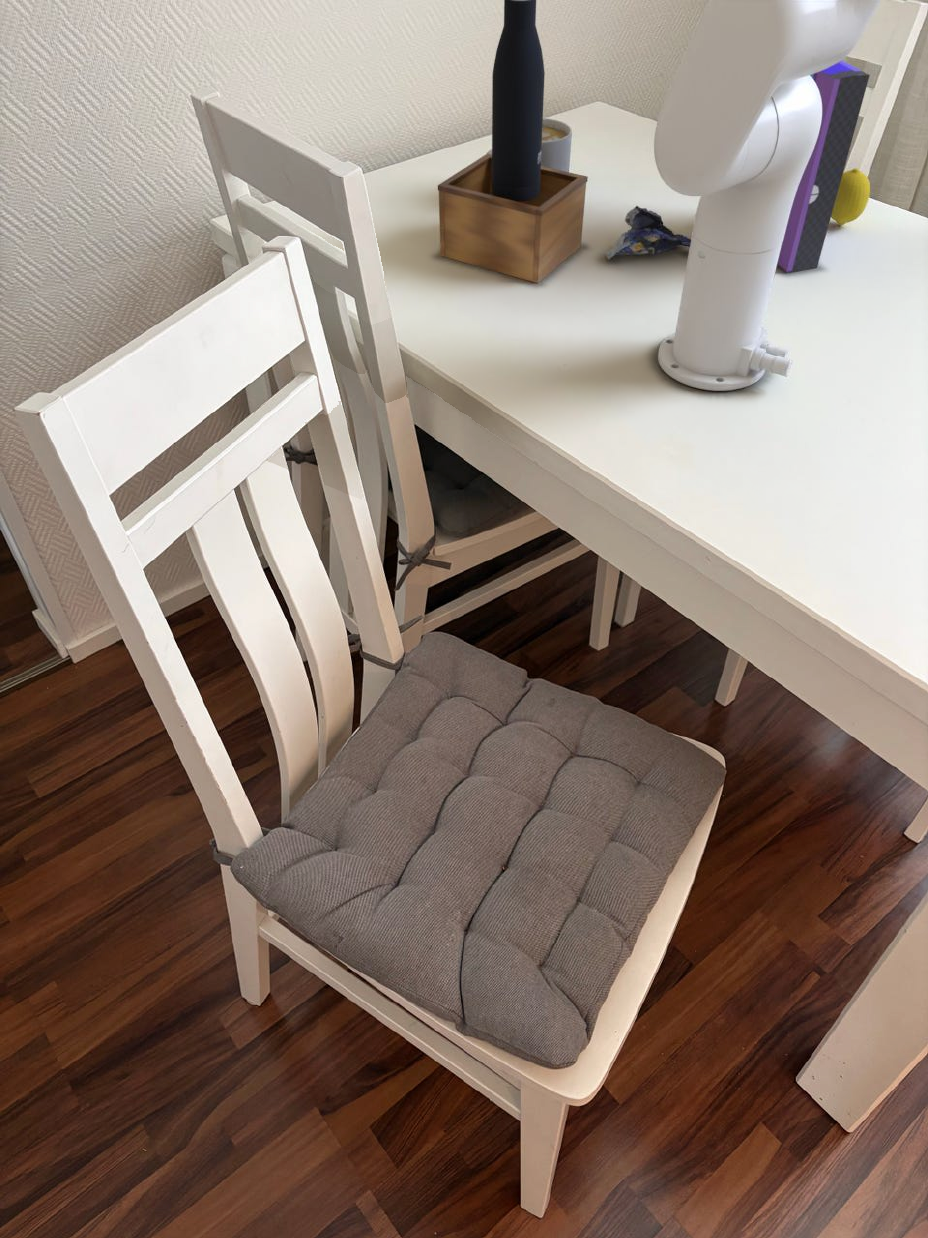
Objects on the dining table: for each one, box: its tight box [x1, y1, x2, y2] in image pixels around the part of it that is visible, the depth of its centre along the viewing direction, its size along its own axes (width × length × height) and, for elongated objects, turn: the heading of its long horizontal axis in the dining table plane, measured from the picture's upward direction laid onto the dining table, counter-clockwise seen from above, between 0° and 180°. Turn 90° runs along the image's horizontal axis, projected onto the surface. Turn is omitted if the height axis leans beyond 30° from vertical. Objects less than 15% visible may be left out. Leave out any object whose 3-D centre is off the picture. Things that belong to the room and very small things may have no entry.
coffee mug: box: [486, 117, 573, 173], centre depth 141 cm, size 13×10×10 cm
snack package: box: [604, 205, 691, 261], centre depth 131 cm, size 12×6×12 cm
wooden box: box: [437, 153, 589, 284], centre depth 129 cm, size 16×13×10 cm
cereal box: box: [777, 60, 871, 274], centre depth 125 cm, size 17×5×24 cm, turn 18°
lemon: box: [830, 167, 871, 227], centre depth 135 cm, size 6×6×8 cm
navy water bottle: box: [491, 0, 546, 202], centre depth 116 cm, size 6×6×30 cm
